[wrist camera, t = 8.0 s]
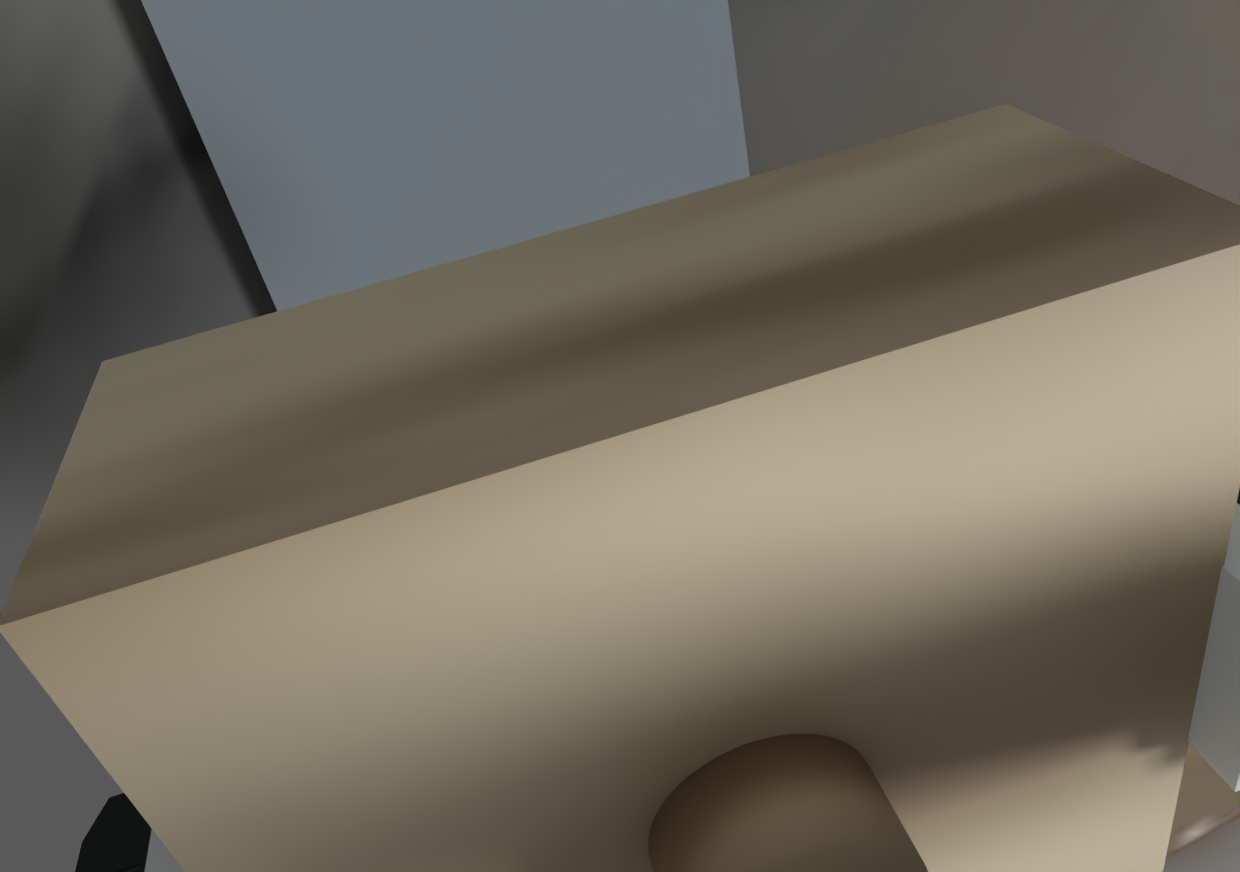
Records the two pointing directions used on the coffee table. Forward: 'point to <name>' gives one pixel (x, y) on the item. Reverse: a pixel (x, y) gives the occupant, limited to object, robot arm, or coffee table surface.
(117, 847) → the robot arm
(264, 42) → the mat
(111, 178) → the coffee table surface
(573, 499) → the lid
